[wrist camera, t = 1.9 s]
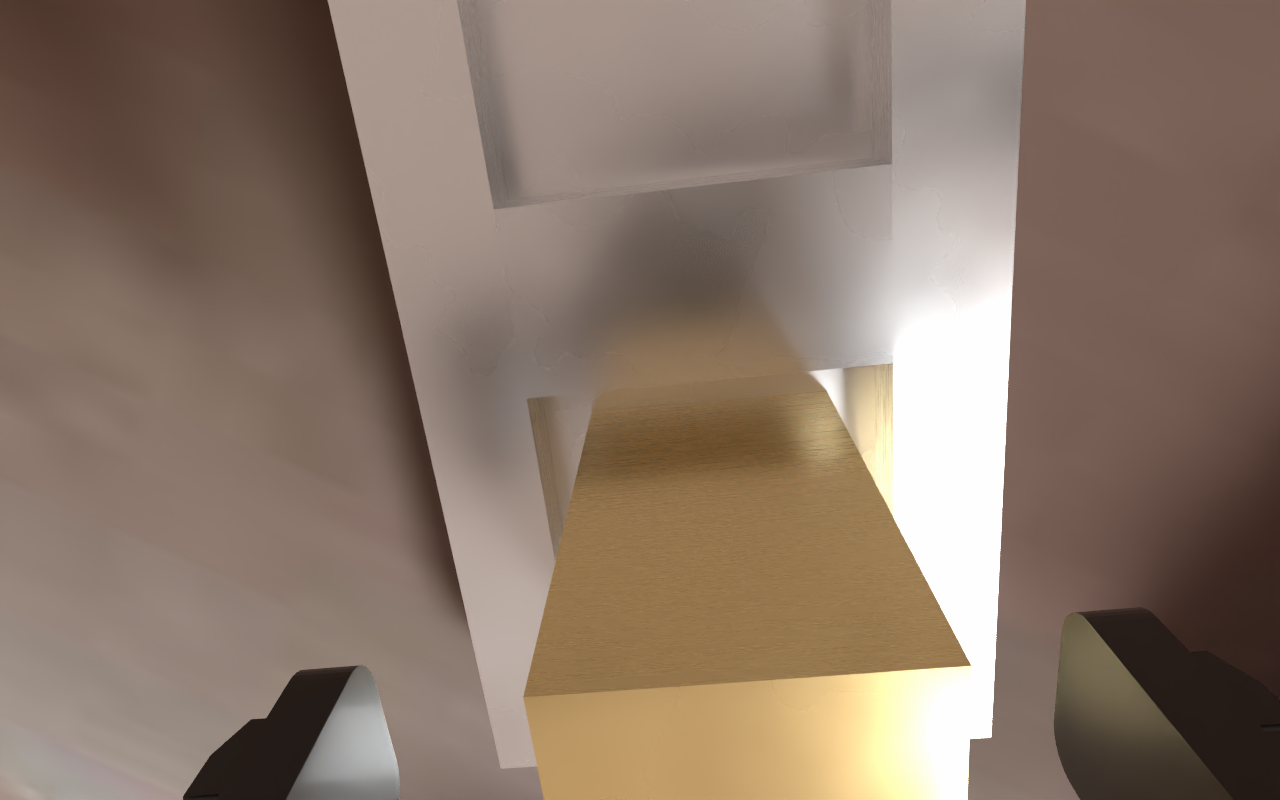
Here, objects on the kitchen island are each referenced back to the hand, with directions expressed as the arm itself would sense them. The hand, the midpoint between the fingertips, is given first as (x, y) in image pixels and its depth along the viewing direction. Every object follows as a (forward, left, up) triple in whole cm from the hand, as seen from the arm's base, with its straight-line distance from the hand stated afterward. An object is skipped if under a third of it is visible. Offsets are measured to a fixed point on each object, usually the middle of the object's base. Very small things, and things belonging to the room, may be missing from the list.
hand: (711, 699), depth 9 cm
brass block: (0, 0, -5) cm, 5 cm away
